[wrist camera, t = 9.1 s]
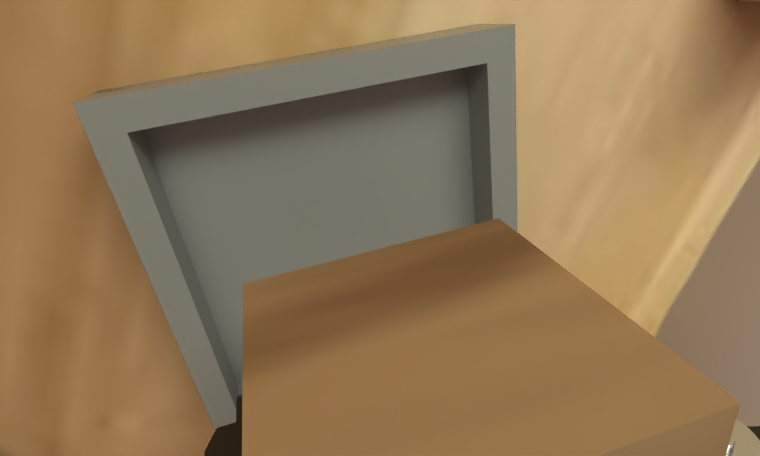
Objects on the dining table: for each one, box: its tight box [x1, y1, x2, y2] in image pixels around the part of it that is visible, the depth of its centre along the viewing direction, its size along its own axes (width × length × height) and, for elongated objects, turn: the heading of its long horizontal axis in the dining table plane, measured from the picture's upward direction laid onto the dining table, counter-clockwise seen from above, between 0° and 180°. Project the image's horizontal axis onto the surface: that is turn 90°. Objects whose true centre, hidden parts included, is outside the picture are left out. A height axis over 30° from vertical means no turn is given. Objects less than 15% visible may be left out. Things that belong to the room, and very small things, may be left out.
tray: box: [73, 24, 517, 431], centre depth 17 cm, size 13×13×2 cm
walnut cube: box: [242, 218, 740, 456], centre depth 9 cm, size 6×6×6 cm
